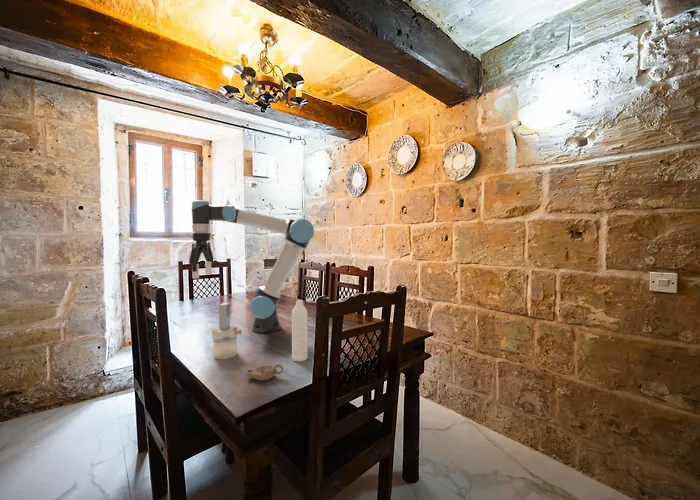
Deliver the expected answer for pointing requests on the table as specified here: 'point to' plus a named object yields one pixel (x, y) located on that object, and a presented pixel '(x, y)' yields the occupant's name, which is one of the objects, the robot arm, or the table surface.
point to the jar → (225, 348)
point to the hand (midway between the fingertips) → (202, 276)
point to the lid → (225, 325)
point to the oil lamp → (263, 372)
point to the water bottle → (299, 332)
